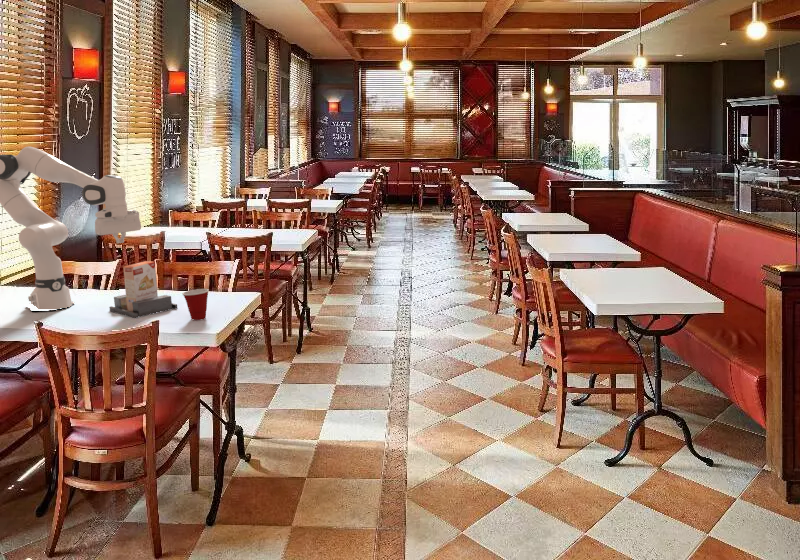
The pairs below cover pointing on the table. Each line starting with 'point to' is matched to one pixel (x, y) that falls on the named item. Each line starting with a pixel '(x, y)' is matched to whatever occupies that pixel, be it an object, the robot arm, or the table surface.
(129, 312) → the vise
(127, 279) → the cracker box
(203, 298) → the plastic cup
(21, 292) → the table surface
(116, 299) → the block
